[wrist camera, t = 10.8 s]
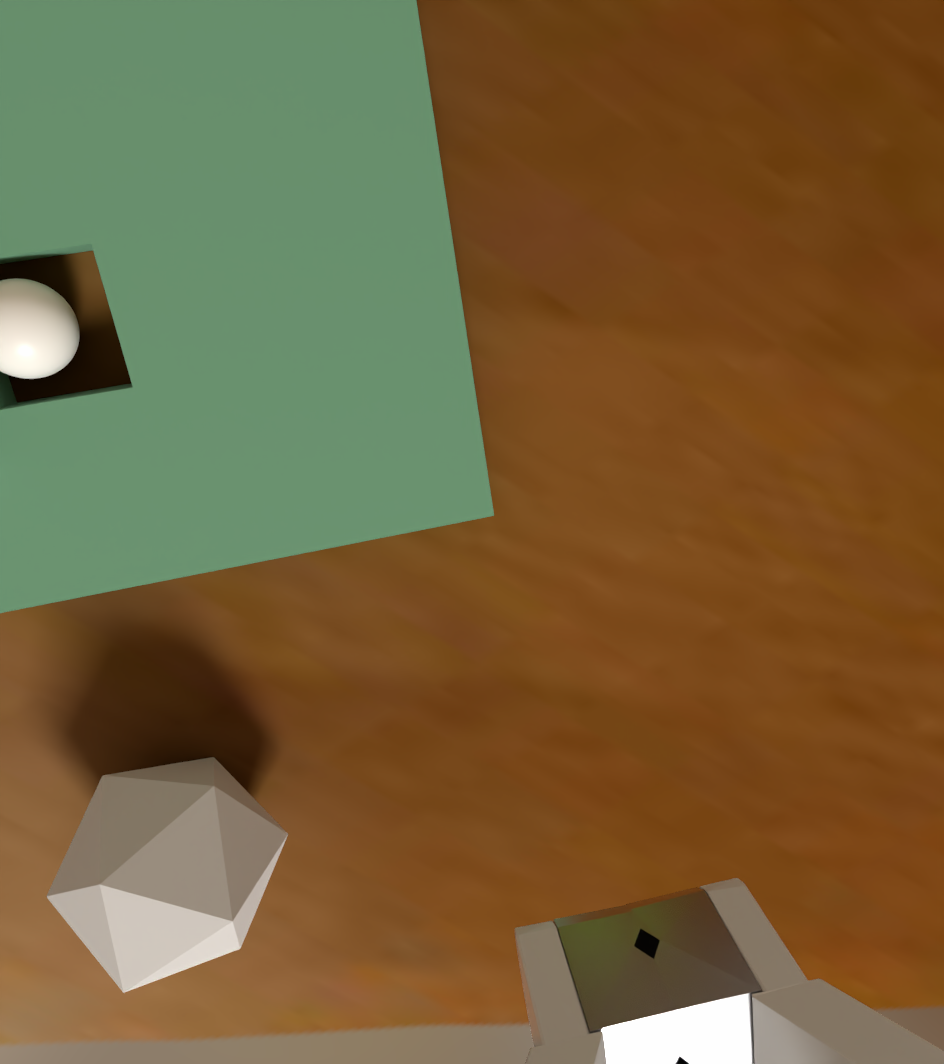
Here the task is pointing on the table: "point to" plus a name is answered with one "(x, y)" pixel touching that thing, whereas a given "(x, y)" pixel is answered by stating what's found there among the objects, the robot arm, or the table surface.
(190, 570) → the green box with hole
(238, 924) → the die
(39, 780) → the table surface
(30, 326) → the ball
